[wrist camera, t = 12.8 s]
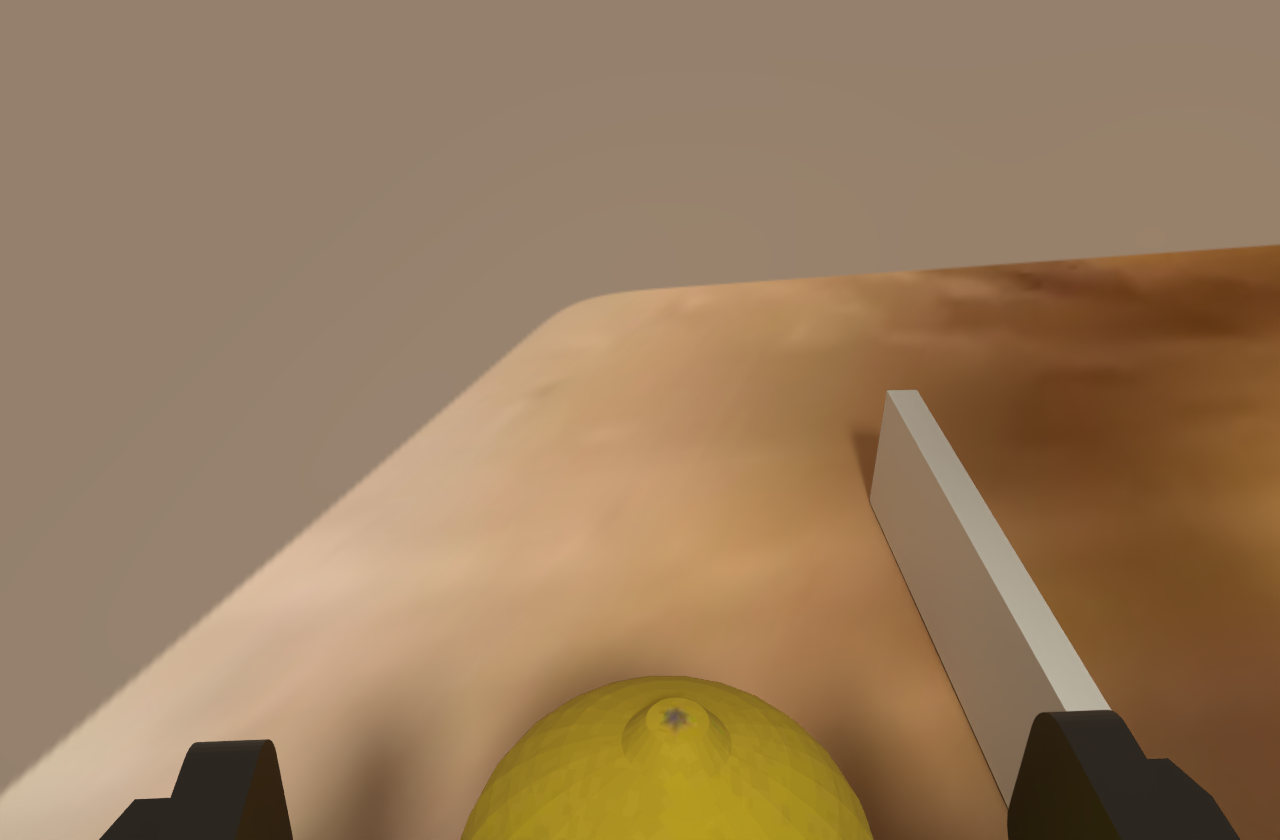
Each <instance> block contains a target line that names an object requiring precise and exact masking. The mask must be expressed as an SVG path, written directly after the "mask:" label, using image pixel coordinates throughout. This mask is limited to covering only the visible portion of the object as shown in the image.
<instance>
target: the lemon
mask: <svg viewBox="0 0 1280 840" xmlns="http://www.w3.org/2000/svg"><path fill="white" fill-rule="evenodd" d="M461 840H873V837H872V833H871V830H870V827H869V824H868V821H867V818H866V815H865V813H864V811H863V808H862V806H861V804H860V801H859V799H858V797H857V796H856V794H855V793H854V791H853V790H852V788H851V786H850V785H849V783H848V782H847V780H846V779H845V777H844V776H843V774H842V773H841V771H840V769H839V768H838V766H837V765H836V763H835V762H834V761H833V759H832V758H831V757H830V755H829V754H828V753H827V751H826V750H825V749H824V748H823V747H822V746H821V745H820V744H819V743H818V742H817V741H816V740H815V739H814V738H813V737H812V736H811V735H810V734H809V733H808V732H806V731H805V730H804V729H803V728H802V727H801V726H800V725H799V724H798V723H797V722H796V721H794V720H793V719H791V718H790V717H789V716H787V715H786V714H784V713H783V712H781V711H779V710H778V709H776V708H774V707H773V706H771V705H770V704H768V703H766V702H765V701H763V700H761V699H760V698H758V697H757V696H755V695H752V694H749V693H747V692H744V691H741V690H739V689H736V688H733V687H731V686H728V685H725V684H723V683H719V682H713V681H708V680H703V679H697V678H692V677H686V676H646V677H641V678H635V679H630V680H625V681H619V682H614V683H610V684H608V685H605V686H603V687H600V688H598V689H595V690H592V691H590V692H587V693H585V694H582V695H580V696H578V697H576V698H574V699H572V700H570V701H568V702H567V703H565V704H564V705H562V706H561V707H559V708H558V709H556V710H555V711H553V712H552V713H550V714H548V715H547V716H545V717H544V718H542V719H541V720H539V721H538V722H537V723H536V724H535V725H534V726H533V727H532V728H531V729H530V730H529V731H528V732H527V733H526V734H525V735H524V736H523V737H522V738H521V739H520V740H519V742H518V743H517V744H516V745H515V746H514V747H513V748H512V749H511V750H510V751H509V752H508V753H507V755H506V756H505V757H504V758H503V759H502V760H501V761H500V762H499V763H498V765H497V767H496V768H495V770H494V772H493V773H492V775H491V777H490V779H489V780H488V782H487V784H486V786H485V788H484V790H483V792H482V794H481V795H480V797H479V799H478V801H477V803H476V805H475V807H474V808H473V810H472V812H471V814H470V816H469V818H468V821H467V823H466V826H465V828H464V831H463V834H462V836H461Z"/></svg>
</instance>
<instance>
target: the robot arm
mask: <svg viewBox="0 0 1280 840" xmlns="http://www.w3.org/2000/svg"><path fill="white" fill-rule="evenodd" d="M1007 827H1008V839H1009V840H1240V839H1239V837H1238V835H1237V834H1236V832H1235V831H1234V829H1233V828H1232V826H1231V825H1230V823H1229V822H1228V820H1227V819H1226V817H1225V816H1224V814H1223V812H1222V811H1221V809H1220V808H1219V806H1218V805H1217V803H1216V802H1215V800H1214V799H1213V797H1212V796H1211V795H1210V794H1209V793H1207V792H1206V791H1205V790H1204V789H1203V788H1202V787H1200V786H1199V785H1198V784H1197V783H1196V782H1195V781H1194V780H1192V779H1191V778H1190V777H1189V776H1188V775H1187V774H1185V773H1184V772H1183V771H1182V770H1181V769H1180V768H1178V767H1177V766H1176V765H1175V764H1174V763H1173V762H1172V761H1170V760H1169V759H1168V758H1166V759H1147V758H1146V756H1145V755H1144V753H1143V751H1142V750H1141V748H1140V747H1139V745H1138V743H1137V742H1136V740H1135V738H1134V737H1133V735H1132V733H1131V732H1130V730H1129V729H1128V727H1127V725H1126V724H1125V722H1124V721H1123V720H1122V718H1121V717H1120V716H1119V715H1118V714H1117V713H1115V712H1114V711H1111V710H1087V711H1062V712H1042V713H1039V714H1038V715H1037V716H1036V717H1035V719H1034V721H1033V724H1032V726H1031V730H1030V733H1029V737H1028V740H1027V744H1026V748H1025V751H1024V755H1023V758H1022V762H1021V765H1020V769H1019V772H1018V776H1017V779H1016V783H1015V786H1014V790H1013V794H1012V797H1011V801H1010V804H1009V809H1008V819H1007ZM99 840H293V837H292V831H291V826H290V821H289V816H288V810H287V805H286V800H285V795H284V790H283V785H282V780H281V775H280V770H279V764H278V759H277V754H276V750H275V747H274V744H273V742H272V741H271V740H243V741H217V742H196V743H194V744H193V745H192V746H191V747H190V748H189V750H188V752H187V754H186V757H185V759H184V762H183V765H182V767H181V770H180V773H179V776H178V778H177V781H176V784H175V787H174V790H173V792H172V795H171V798H157V799H135V800H134V801H133V802H132V803H131V804H130V805H129V807H128V808H127V809H126V810H125V811H124V812H123V813H122V814H121V816H120V817H119V818H118V819H117V820H116V821H115V822H114V823H113V825H112V826H111V827H110V828H109V829H108V830H107V831H106V832H105V834H104V835H103V836H102V837H101V838H100V839H99Z"/></svg>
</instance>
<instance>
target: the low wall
mask: <svg viewBox="0 0 1280 840" xmlns="http://www.w3.org/2000/svg"><path fill="white" fill-rule="evenodd" d="M870 503H871V506H872V508H873V510H874V512H875V514H876V517H877V519H878V521H879V523H880V526H881V528H882V530H883V532H884V534H885V537H886V539H887V541H888V543H889V545H890V548H891V550H892V552H893V554H894V557H895V559H896V561H897V563H898V565H899V568H900V570H901V572H902V574H903V576H904V579H905V581H906V583H907V585H908V588H909V590H910V592H911V594H912V596H913V599H914V601H915V603H916V605H917V607H918V610H919V612H920V614H921V616H922V619H923V621H924V623H925V625H926V627H927V630H928V632H929V634H930V636H931V639H932V641H933V643H934V645H935V647H936V650H937V652H938V654H939V656H940V658H941V661H942V663H943V665H944V667H945V670H946V672H947V674H948V676H949V678H950V681H951V683H952V685H953V687H954V689H955V692H956V694H957V696H958V698H959V701H960V703H961V705H962V707H963V709H964V712H965V714H966V716H967V718H968V720H969V723H970V725H971V727H972V729H973V732H974V734H975V736H976V738H977V740H978V743H979V745H980V747H981V749H982V751H983V754H984V756H985V758H986V760H987V763H988V765H989V767H990V769H991V771H992V774H993V776H994V778H995V780H996V782H997V785H998V787H999V789H1000V791H1001V794H1002V796H1003V798H1004V800H1005V802H1006V805H1007V807H1008V809H1009V804H1010V801H1011V797H1012V794H1013V790H1014V786H1015V783H1016V779H1017V776H1018V772H1019V769H1020V765H1021V762H1022V758H1023V755H1024V751H1025V748H1026V744H1027V740H1028V737H1029V733H1030V730H1031V726H1032V724H1033V721H1034V719H1035V717H1036V716H1037V715H1038V714H1039V713H1042V712H1062V711H1087V710H1111V709H1110V707H1109V706H1108V704H1107V702H1106V701H1105V699H1104V697H1103V696H1102V694H1101V692H1100V691H1099V689H1098V687H1097V686H1096V684H1095V682H1094V681H1093V679H1092V678H1091V676H1090V674H1089V673H1088V671H1087V669H1086V668H1085V666H1084V664H1083V663H1082V661H1081V659H1080V658H1079V656H1078V654H1077V653H1076V651H1075V650H1074V648H1073V646H1072V645H1071V643H1070V641H1069V640H1068V638H1067V636H1066V635H1065V633H1064V631H1063V630H1062V628H1061V626H1060V625H1059V623H1058V622H1057V620H1056V618H1055V617H1054V615H1053V613H1052V612H1051V610H1050V608H1049V607H1048V605H1047V603H1046V602H1045V600H1044V598H1043V597H1042V595H1041V593H1040V592H1039V590H1038V589H1037V587H1036V585H1035V584H1034V582H1033V580H1032V579H1031V577H1030V575H1029V574H1028V572H1027V570H1026V569H1025V567H1024V565H1023V564H1022V562H1021V561H1020V559H1019V557H1018V556H1017V554H1016V552H1015V551H1014V549H1013V547H1012V546H1011V544H1010V542H1009V541H1008V539H1007V537H1006V536H1005V534H1004V533H1003V531H1002V529H1001V528H1000V526H999V524H998V523H997V521H996V519H995V518H994V516H993V514H992V513H991V511H990V509H989V508H988V506H987V505H986V503H985V501H984V500H983V498H982V496H981V495H980V493H979V491H978V490H977V488H976V486H975V485H974V483H973V481H972V480H971V478H970V477H969V475H968V473H967V472H966V470H965V468H964V467H963V465H962V463H961V462H960V460H959V458H958V457H957V455H956V453H955V452H954V450H953V449H952V447H951V445H950V444H949V442H948V440H947V439H946V437H945V435H944V434H943V432H942V430H941V429H940V427H939V425H938V424H937V422H936V420H935V419H934V417H933V416H932V414H931V412H930V411H929V409H928V407H927V406H926V404H925V402H924V401H923V399H922V397H921V396H920V394H919V392H918V391H917V390H887V393H886V399H885V406H884V412H883V418H882V425H881V431H880V437H879V444H878V450H877V457H876V463H875V469H874V476H873V482H872V488H871V495H870ZM1111 711H1112V710H1111Z"/></svg>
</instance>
